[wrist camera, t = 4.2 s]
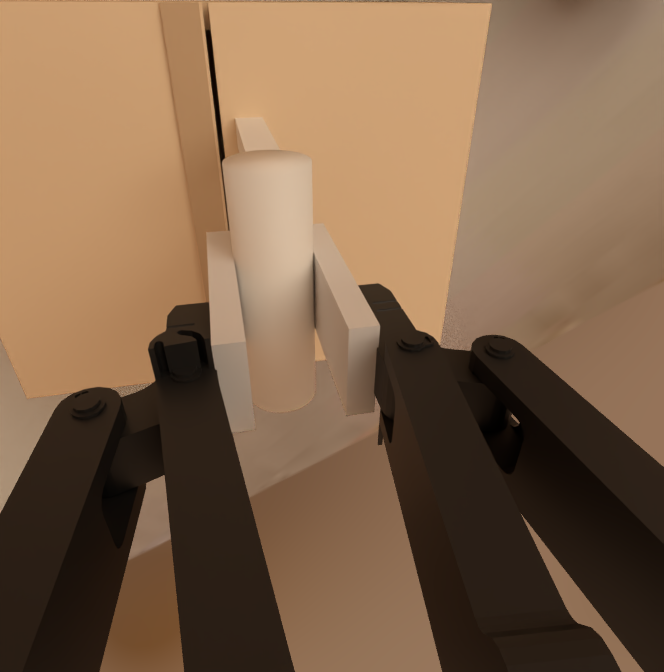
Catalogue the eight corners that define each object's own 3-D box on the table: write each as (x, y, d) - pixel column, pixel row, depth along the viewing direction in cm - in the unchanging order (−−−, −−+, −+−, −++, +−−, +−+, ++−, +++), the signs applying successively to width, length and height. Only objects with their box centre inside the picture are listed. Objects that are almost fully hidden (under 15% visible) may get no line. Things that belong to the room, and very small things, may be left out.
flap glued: (-134, 0, 15) (-153, 1, 14) (201, 2, 17) (201, 2, 16) (31, 387, 23) (25, 401, 23) (243, 360, 25) (245, 373, 24)
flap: (201, 2, 17) (204, 5, 10) (481, 3, 19) (633, 6, 12) (243, 360, 25) (259, 486, 19) (434, 336, 27) (508, 443, 21)
